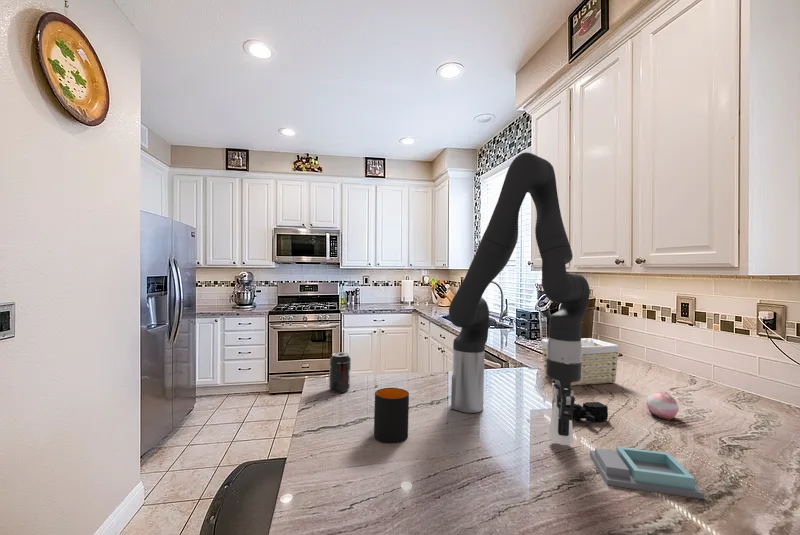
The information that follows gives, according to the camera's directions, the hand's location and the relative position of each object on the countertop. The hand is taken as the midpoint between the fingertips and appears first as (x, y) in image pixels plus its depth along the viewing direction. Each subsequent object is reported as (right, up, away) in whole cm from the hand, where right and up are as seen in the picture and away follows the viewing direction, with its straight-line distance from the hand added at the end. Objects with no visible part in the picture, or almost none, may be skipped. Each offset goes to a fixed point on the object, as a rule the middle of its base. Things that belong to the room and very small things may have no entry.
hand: (561, 430), depth 86 cm
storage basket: (+31, -5, +56) cm, 64 cm away
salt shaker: (0, -3, 0) cm, 3 cm away
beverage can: (-58, -3, +35) cm, 68 cm away
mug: (-41, -3, +4) cm, 41 cm away
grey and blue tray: (+11, -4, -12) cm, 17 cm away
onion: (+38, -5, +20) cm, 43 cm away
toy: (+12, -4, +16) cm, 20 cm away
